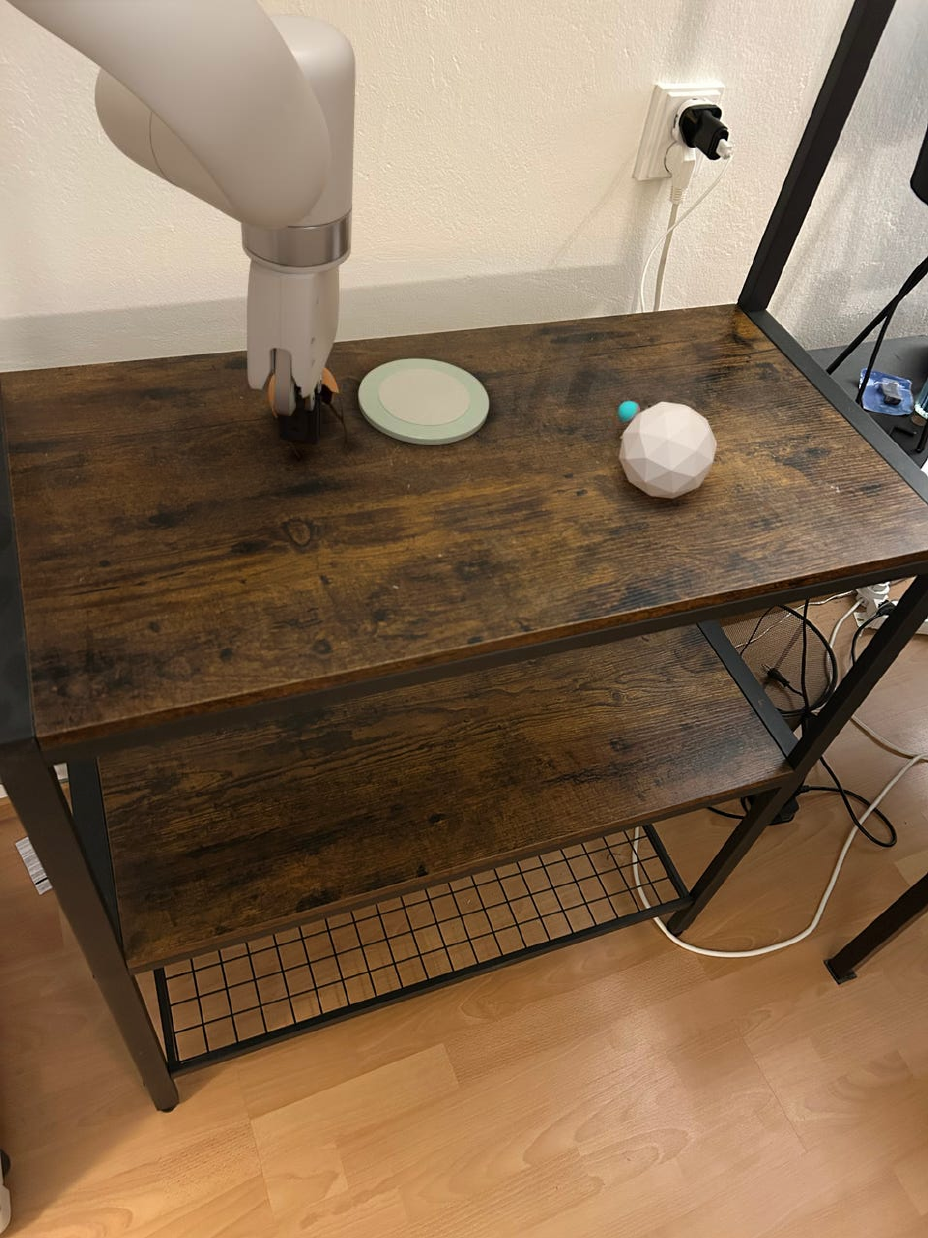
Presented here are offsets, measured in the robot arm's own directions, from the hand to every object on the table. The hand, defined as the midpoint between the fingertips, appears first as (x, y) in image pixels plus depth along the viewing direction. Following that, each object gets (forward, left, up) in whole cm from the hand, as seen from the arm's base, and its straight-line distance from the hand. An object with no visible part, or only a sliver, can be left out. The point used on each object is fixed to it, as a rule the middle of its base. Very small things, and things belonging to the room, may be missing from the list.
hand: (300, 436), depth 80 cm
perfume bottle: (+29, -9, -3) cm, 31 cm away
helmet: (+2, +4, -3) cm, 5 cm away
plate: (+13, +5, -2) cm, 14 cm away
